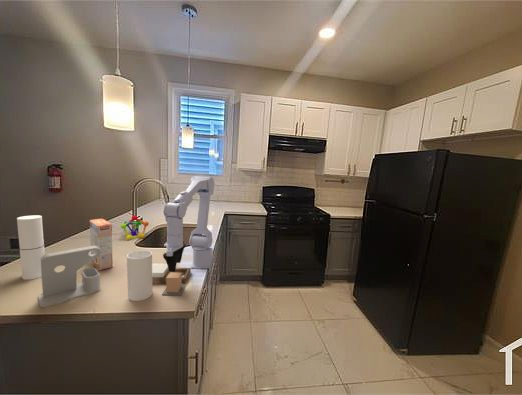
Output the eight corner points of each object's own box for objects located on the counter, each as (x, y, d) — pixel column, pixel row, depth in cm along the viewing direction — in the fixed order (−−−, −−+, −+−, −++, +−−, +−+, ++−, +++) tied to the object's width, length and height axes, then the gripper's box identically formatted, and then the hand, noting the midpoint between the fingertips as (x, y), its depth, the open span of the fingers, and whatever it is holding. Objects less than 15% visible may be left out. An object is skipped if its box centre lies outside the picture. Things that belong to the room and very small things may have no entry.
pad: (185, 285, 95) (185, 284, 95) (180, 295, 88) (180, 294, 88) (167, 285, 95) (167, 284, 95) (162, 295, 88) (162, 294, 88)
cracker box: (113, 267, 108) (112, 223, 105) (98, 271, 104) (96, 225, 101) (105, 258, 117) (103, 217, 115) (90, 261, 113) (88, 219, 110)
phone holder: (96, 280, 96) (94, 238, 93) (102, 290, 89) (100, 245, 86) (38, 296, 83) (34, 248, 81) (40, 309, 76) (35, 257, 74)
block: (181, 286, 94) (181, 272, 93) (178, 292, 90) (178, 277, 89) (170, 286, 94) (170, 272, 93) (166, 292, 89) (166, 277, 88)
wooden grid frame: (190, 272, 107) (190, 267, 106) (185, 284, 97) (185, 278, 96) (150, 272, 105) (150, 267, 105) (140, 283, 95) (140, 277, 95)
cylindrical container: (19, 281, 92) (13, 219, 89) (26, 273, 99) (21, 215, 95) (42, 277, 96) (38, 218, 92) (48, 270, 102) (44, 214, 98)
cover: (170, 267, 105) (170, 263, 105) (163, 277, 96) (163, 272, 96) (149, 267, 104) (149, 263, 104) (140, 277, 95) (140, 272, 95)
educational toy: (140, 234, 160) (142, 213, 159) (148, 239, 152) (150, 216, 150) (115, 236, 149) (117, 213, 148) (122, 242, 140) (124, 217, 139)
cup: (134, 288, 91) (133, 249, 89) (155, 288, 92) (155, 250, 90) (123, 301, 83) (122, 258, 81) (147, 301, 84) (146, 258, 82)
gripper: (170, 227, 97) (170, 258, 98) (157, 239, 82) (158, 275, 84) (187, 228, 97) (187, 259, 99) (177, 239, 83) (177, 275, 85)
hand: (175, 266), depth 92 cm, fingers open, 7 cm apart
